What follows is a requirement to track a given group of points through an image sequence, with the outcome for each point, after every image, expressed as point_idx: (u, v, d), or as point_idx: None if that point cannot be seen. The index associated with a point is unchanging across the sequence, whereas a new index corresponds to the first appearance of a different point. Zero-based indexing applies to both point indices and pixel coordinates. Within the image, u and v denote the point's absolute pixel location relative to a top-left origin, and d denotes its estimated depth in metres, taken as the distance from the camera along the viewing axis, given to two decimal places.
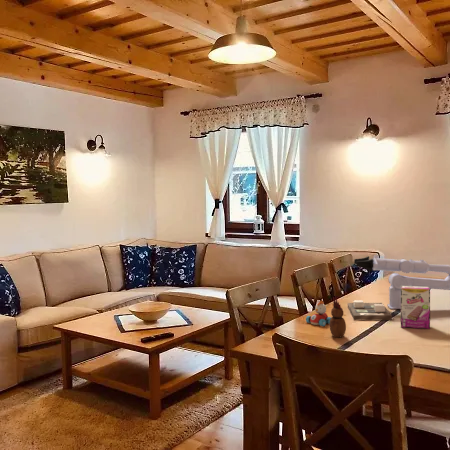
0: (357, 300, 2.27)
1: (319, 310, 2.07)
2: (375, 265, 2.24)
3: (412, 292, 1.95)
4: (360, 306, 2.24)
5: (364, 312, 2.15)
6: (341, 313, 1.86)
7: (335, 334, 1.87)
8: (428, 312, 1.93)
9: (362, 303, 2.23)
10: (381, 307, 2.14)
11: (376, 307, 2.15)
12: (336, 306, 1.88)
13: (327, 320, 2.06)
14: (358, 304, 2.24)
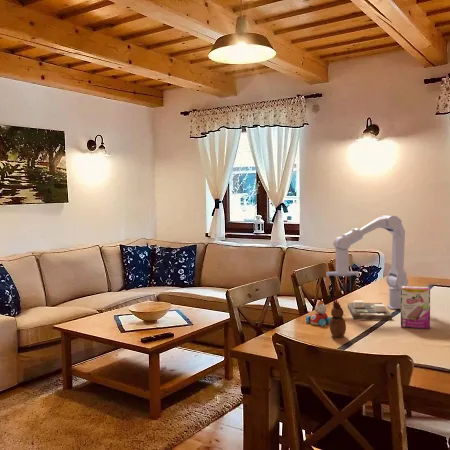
0: (357, 300, 2.27)
1: (319, 310, 2.07)
2: (358, 274, 2.24)
3: (412, 292, 1.95)
4: (360, 306, 2.24)
5: (364, 312, 2.15)
6: (341, 313, 1.86)
7: (335, 334, 1.87)
8: (428, 312, 1.93)
9: (362, 303, 2.23)
10: (381, 307, 2.14)
11: (376, 307, 2.15)
12: (336, 306, 1.88)
13: (327, 320, 2.06)
14: (358, 304, 2.24)
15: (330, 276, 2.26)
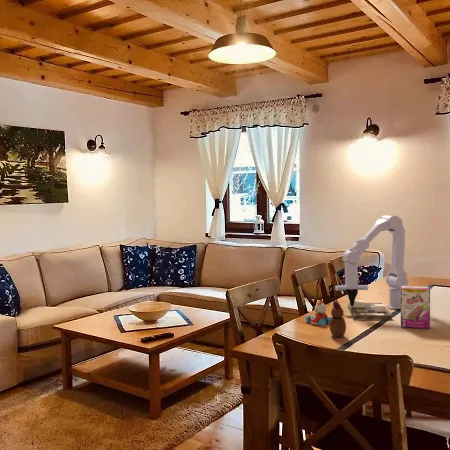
0: (358, 300, 2.27)
1: (319, 310, 2.07)
2: (367, 288, 2.24)
3: (412, 292, 1.95)
4: (361, 306, 2.24)
5: (364, 312, 2.15)
6: (341, 313, 1.86)
7: (335, 334, 1.87)
8: (428, 312, 1.93)
9: (363, 303, 2.23)
10: (381, 307, 2.14)
11: (376, 307, 2.15)
12: (336, 306, 1.88)
13: (327, 320, 2.07)
14: (358, 304, 2.24)
15: None
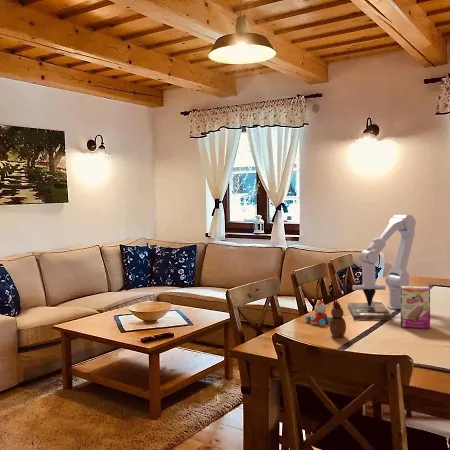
0: (375, 300, 2.26)
1: (319, 310, 2.07)
2: None
3: (412, 292, 1.95)
4: None
5: (364, 312, 2.15)
6: (341, 313, 1.86)
7: (335, 334, 1.87)
8: (428, 312, 1.93)
9: (380, 303, 2.22)
10: (381, 307, 2.14)
11: (376, 307, 2.15)
12: (336, 306, 1.88)
13: (327, 320, 2.07)
14: None
15: None
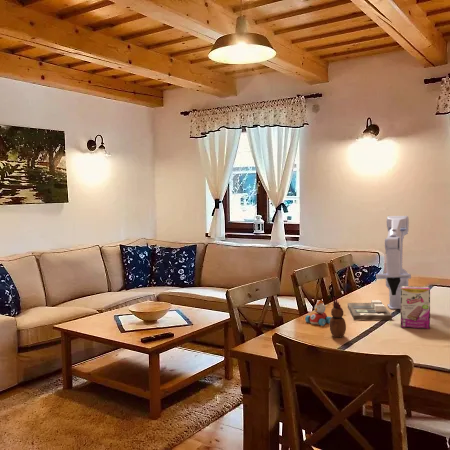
0: (375, 300, 2.26)
1: (318, 310, 2.08)
2: None
3: (412, 292, 1.95)
4: None
5: (364, 312, 2.15)
6: (341, 313, 1.86)
7: (335, 334, 1.87)
8: (428, 312, 1.93)
9: (380, 303, 2.22)
10: (381, 307, 2.14)
11: (376, 307, 2.15)
12: (336, 306, 1.88)
13: (326, 319, 2.07)
14: None
15: (380, 278, 2.15)
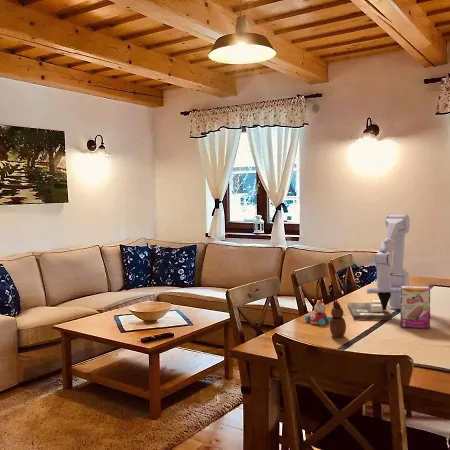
0: (375, 300, 2.26)
1: (318, 309, 2.08)
2: None
3: (412, 292, 1.95)
4: None
5: (364, 312, 2.15)
6: (341, 313, 1.86)
7: (335, 334, 1.87)
8: (428, 312, 1.93)
9: (380, 303, 2.22)
10: (378, 307, 2.15)
11: (373, 307, 2.15)
12: (336, 306, 1.88)
13: (326, 319, 2.07)
14: None
15: None
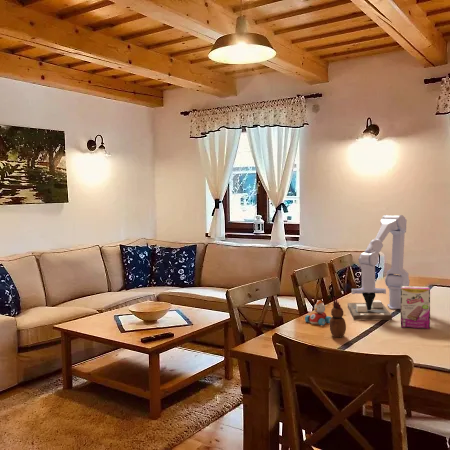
0: (375, 300, 2.26)
1: (318, 309, 2.08)
2: None
3: (412, 292, 1.95)
4: (378, 306, 2.22)
5: (364, 312, 2.15)
6: (341, 313, 1.86)
7: (335, 334, 1.87)
8: (428, 312, 1.93)
9: (380, 303, 2.22)
10: (363, 307, 2.16)
11: (358, 307, 2.16)
12: (336, 306, 1.88)
13: (326, 319, 2.08)
14: (376, 304, 2.23)
15: (356, 293, 2.17)
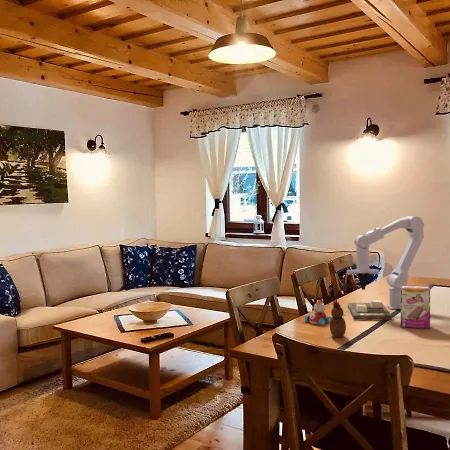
0: (375, 300, 2.26)
1: (318, 309, 2.08)
2: None
3: (412, 292, 1.95)
4: (378, 306, 2.22)
5: (364, 312, 2.15)
6: (341, 313, 1.86)
7: (335, 334, 1.87)
8: (428, 312, 1.93)
9: (380, 303, 2.22)
10: (363, 307, 2.16)
11: (358, 307, 2.16)
12: (336, 306, 1.88)
13: (326, 319, 2.08)
14: (376, 304, 2.23)
15: None
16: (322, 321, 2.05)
